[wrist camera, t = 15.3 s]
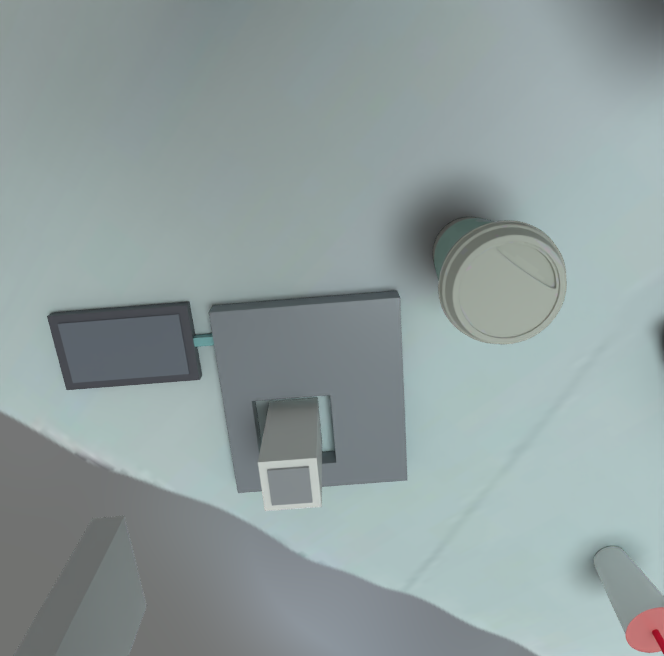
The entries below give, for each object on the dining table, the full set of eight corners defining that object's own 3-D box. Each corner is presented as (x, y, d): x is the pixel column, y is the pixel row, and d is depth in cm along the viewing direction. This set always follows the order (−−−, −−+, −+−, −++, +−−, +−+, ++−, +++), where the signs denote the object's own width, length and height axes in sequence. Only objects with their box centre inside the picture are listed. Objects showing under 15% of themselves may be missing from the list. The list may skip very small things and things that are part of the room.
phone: (52, 312, 50) (46, 316, 49) (281, 294, 50) (280, 298, 49) (71, 385, 53) (65, 390, 51) (289, 368, 52) (289, 373, 51)
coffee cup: (530, 275, 50) (590, 322, 38) (437, 314, 51) (469, 371, 39) (498, 182, 47) (554, 203, 36) (400, 225, 48) (424, 259, 37)
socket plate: (213, 305, 50) (208, 312, 48) (397, 290, 50) (400, 297, 48) (240, 480, 56) (237, 492, 54) (404, 468, 56) (407, 480, 54)
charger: (269, 401, 53) (257, 464, 44) (317, 397, 53) (316, 459, 44) (275, 443, 55) (264, 513, 45) (322, 439, 55) (321, 508, 45)
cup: (585, 582, 61) (643, 688, 50) (582, 543, 59) (643, 642, 48) (636, 574, 61) (706, 678, 50) (635, 534, 59) (708, 632, 48)
